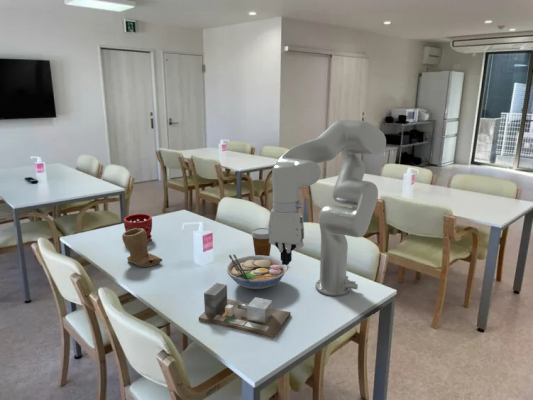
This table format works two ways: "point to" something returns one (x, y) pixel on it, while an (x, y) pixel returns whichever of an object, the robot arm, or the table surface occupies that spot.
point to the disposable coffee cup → (261, 241)
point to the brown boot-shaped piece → (139, 248)
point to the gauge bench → (238, 314)
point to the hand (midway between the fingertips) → (286, 263)
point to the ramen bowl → (256, 271)
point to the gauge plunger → (258, 310)
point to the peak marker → (228, 311)
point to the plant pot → (139, 223)
